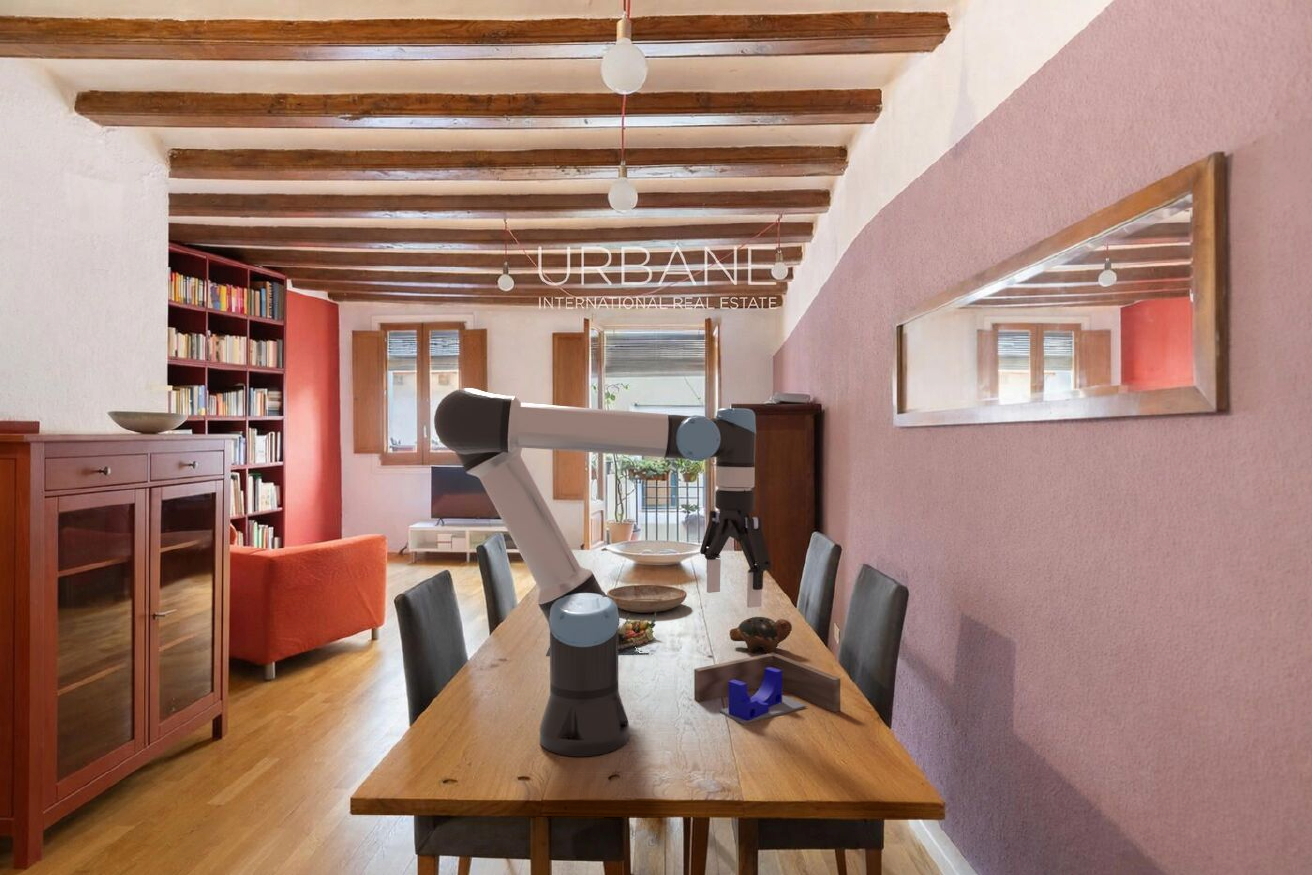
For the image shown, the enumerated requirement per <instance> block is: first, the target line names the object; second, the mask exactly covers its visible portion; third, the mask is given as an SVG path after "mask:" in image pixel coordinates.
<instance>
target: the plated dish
mask: <svg viewBox="0 0 1312 875" xmlns="http://www.w3.org/2000/svg"><path fill="white" fill-rule="evenodd" d="M653 613H654V615H653V617H652V618H651V622H649V621H648V620H647V619H646V620H644V621H641V619H640V620H639V619H636V620H632V619H630V620H629V617H630V613H627V615H626V617H625V622H624V623H622V624H621V625H619V626H618V656H648V655H653V654H654V653H651V654H650V653H649V652H648V653H646V652H644V653H639V652H638V651H640V652H643V650H639V649H637V650H638V651H637V650H636V648H638V647H642V646H644V645H643V644H645V645H646V643H647V642H648V643H650V642H653V640H654V630H653V629H654V628H655V626H656V620H657V619H656V618H657V617H656V616H657V612H653ZM648 643H647V644H648ZM637 646H638V647H637ZM635 647H636V648H635ZM545 657H550V646H549V647H548V649H547V652H546V654H545Z"/></svg>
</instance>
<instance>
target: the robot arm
mask: <svg viewBox="0 0 1312 875" xmlns="http://www.w3.org/2000/svg"><path fill="white" fill-rule="evenodd" d="M433 424H434V430H435V434H436V435H437V437H438V439H439V441H440V442H441V443H442V444H443V445H444V446H445V447H446V448H447V449H449V450H451V451H452V452H455V454H456V456H457V458H458V460H459V461H460V463H461V465H462V467H463V468H464V471H465V473H466V474H467V475H471V476H474V477H477V478H478V480H480V482H481V484H482V487H483V488H484V490H485V491H486V494H487V496H488V497H489V499H490V501H491V503H492V504H493V506H494V509H495V510H496V511H497V513H498V516H499V517H500V519H501V521H502V523H503V525H504V526H505V528H506V530H507V532H508V534H509V536H510V537H511V539H512V541H513V543H514V545H515V546H516V548H517V550H518V552H519V554H520V556H521V558H522V559H523V562H524V564H525V565H526V567H527V569H528V570H529V572H530V574H531V576H532V578H533V580H534V581H535V583H536V585H537V587H538V589H539V593H538V596H537V599H536V600H537V601H536V602H537V605H538V607H539V608H540V611H541V612H542V614H543V616H544V617H545V619H546V621H547V624H548V628H549V647H550V656H549V681H550V682H549V696H548V697H549V698H548V700H547V703H546V706H545V709H544V713H543V716H542V719H541V723H540V726H539V743H540V745H541V746H542V747H543V748H544V749H545V750H547V751H549V752H552V753H554V754H558V755H561V756H568V757H591V756H598V755H599V756H600V755H603V754H607V753H610V752H613V751H615V750H618V749H619V748H622V747H623V746H624V745H625V744H626V743H627V742H628V740H629V739H630V724H629V719H628V716H627V714H626V710H625V707H624V704H623V701H622V698H621V694H620V691H619V687H620V686H619V655H618V627H620V615H619V609H618V608H619V607H617V605H616V603H615V602H614V601H613V600H612V599H610V598H609V597H608V596H607V593H605V591H603V590H602V587H601V585H600V584H599V582H598V580H597V578H596V576H595V575H594V573H593V571H592V570H591V569H589V568H585V567H582V566H580V564H579V562H578V560H577V558H576V556H575V554H574V553H573V550H572V549H571V547H570V546H569V544H568V542H567V540H566V538H565V536H564V534H563V532H562V530H561V529H560V528H561V527H559V525H558V524H557V521H556V520H555V518H554V516H553V514H552V512H551V510H550V509H549V506H548V504H547V503H546V501H545V499H544V497H543V495H542V493H541V492H540V490H539V487H538V485H537V484H536V482H535V480H534V478H533V477H532V475H531V473H530V470H529V469H528V467H527V466H526V464H525V462H524V460H523V458H522V456H521V454H522V450H523V449H539V450H550V451H566V452H580V453H583V452H584V453H595V454H596V453H597V454H609V455H610V454H611V455H612V454H613V455H623V456H624V455H625V456H626V455H627V456H636V457H637V456H639V457H654V458H667V459H678V460H679V459H681V460H689V461H692V462H701V461H702V462H703V461H705V460H707V459H710V458H715V485H714V486H715V487H717V488H718V489H716V490H715V493H714V494H715V495H714V499H715V501H714V502H715V503H714V506H715V508H716V509H718V510H710V511H709V516H708V517H709V518H708V523H707V527H706V529H705V532H704V536H703V539H702V542H701V547H700V549H699V553H700V554H701V555H704V558H705V560H706V593H707V594H711V593H712V594H713V593H719V592H721V559H720V558H721V552H722V551H723V548H724V547H725V546H726V543H727V542H728V540H729V538H732V539H735V541H736V542H738V543H739V545H740V547H741V549H742V552H743V554H744V556H745V557H744V558H745V559H746V562H747V564H748V566H749V567H748V568H749V569H748V571H747V586H746V587H747V588H746V589H747V593H746V594H747V595H746V607H747V608H749V609H750V608H758V607H762V594H763V593H762V591H763V587H764V572H765V571H768V570H769V571H770V570H771V569H772V563H771V559H770V554H769V551H768V547H767V544H766V541H765V540H766V539H765V536H764V532H763V528H762V518H761V517H760V516H755V517H754V516H753V517H751V515H750V512H751V511H752V510H754V509H755V500H756V499H755V497H756V496H755V490H753V488H754V487H755V483H756V482H755V476H756V475H755V474H756V473H755V470H756V469H755V466H756V463H755V462H756V461H755V460H756V442H757V440H756V439H757V437H756V436H757V427H756V426H757V425H756V413H755V412H754V410H752V409H750V408H733V407H732V408H730V407H728V408H719V409H718V410H717V411H716V415H715V417H713V418H708V417H706V416H705V415H680V414H668V413H658V412H657V413H654V412H644V411H643V412H642V411H632V410H631V411H630V410H629V411H628V410H618V409H615V410H614V409H604V408H603V409H602V408H591V407H579V406H566V405H564V406H563V405H554V404H553V405H552V404H541V403H527V402H521V401H520V400H519V399H518V398H517V397H516V396H513V395H503V394H495V393H491V392H488V391H484V390H481V389H477V388H472V387H466V388H460V389H459V388H458V389H456V390H454V391H451V392H450V393H448V394H447V395H446V396H445V397H443V398H442V399H441V401H440V402H439V403H438V404H437V407H436V409H435V413H434V417H433Z"/></svg>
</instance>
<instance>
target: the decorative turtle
mask: <svg viewBox="0 0 1312 875" xmlns="http://www.w3.org/2000/svg"><path fill="white" fill-rule="evenodd" d="M792 625H793V624H792V623H791V622H790V621H789V620H788V619H785V618H780V619H777V620H776V621H774V620H773V619H772V618H769V617H765V616H754V617H749V618H747V619H745V620H743V621H742V622H740V624H738V627H735V628H731V629H730V630H729V638H730V640H731V641H732V642H745V644H746V646H747V650H748V651H749V652H752V653H754V652H756V651H758V650H759V648H762V649H763V651H765V653H766V654H769V653H775V652H774V651H775V649H777V647H778V646H779V644H780V643H781V642H782V643H783V641H785V640H786V639H788V637H789V636H790V634H791V632H792V630H793V627H792Z"/></svg>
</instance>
